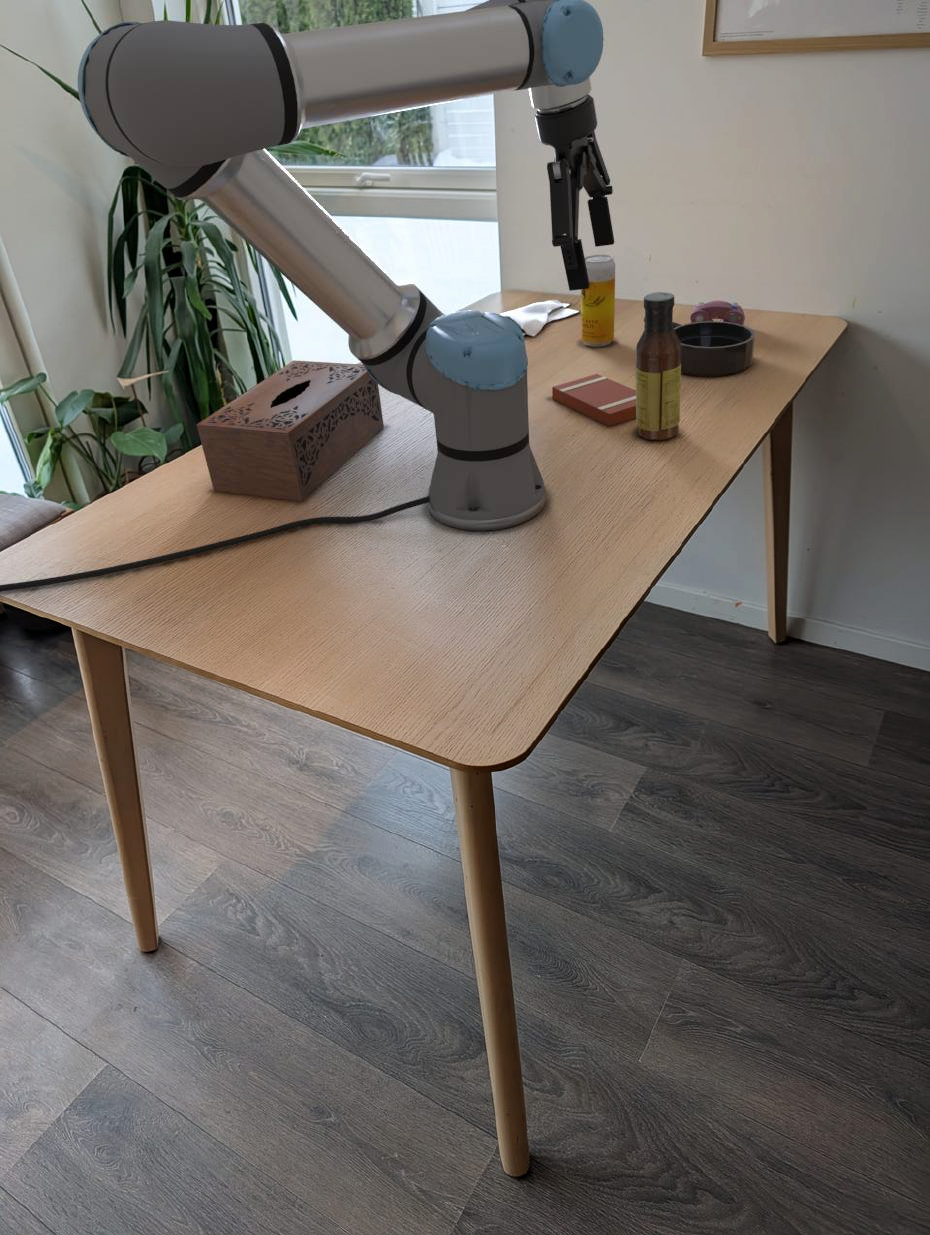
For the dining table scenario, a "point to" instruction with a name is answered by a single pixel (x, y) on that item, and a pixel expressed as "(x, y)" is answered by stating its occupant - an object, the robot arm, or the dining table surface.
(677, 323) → the pan handle
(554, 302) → the cloth
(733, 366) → the pan
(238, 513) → the dining table surface
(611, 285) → the beer can
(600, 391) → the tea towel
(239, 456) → the tissue box cover
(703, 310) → the video game controller
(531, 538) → the dining table surface
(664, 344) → the sauce bottle
